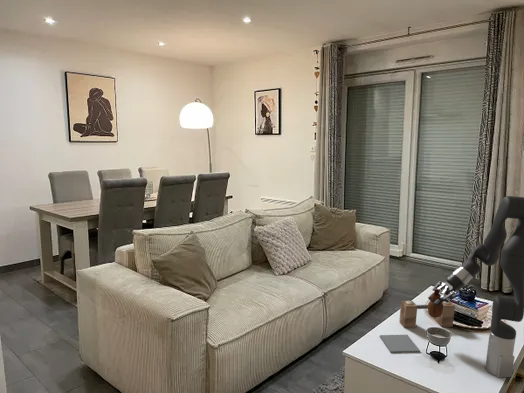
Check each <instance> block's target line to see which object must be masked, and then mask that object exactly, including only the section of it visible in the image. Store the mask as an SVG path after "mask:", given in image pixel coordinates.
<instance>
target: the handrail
mask: <svg viewBox="0 0 524 393" xmlns="http://www.w3.org/2000/svg"><path fill="white" fill-rule="evenodd" d="M442 304H443V312H442V314H441V316H440V317H435V322H436V324H438V325H439V326H440V327H441V328H453V327H454V326H453V325H454V316H455V311H456V310H455V308H456V305H455V304H454V303H453V302H451V301H449V302H447V303H446V302H442ZM425 309H427V310H428V304H416V303H415V302H414V301H413V300H401V301H400V309H399V321H398V322H399V324H400V325H401V326H402V327H403V328H404V329H408V328H409V329H411V328H412V329H413V328H416V326H417V324H416V323H417V317H418V316H417V315H418V310H425Z"/></svg>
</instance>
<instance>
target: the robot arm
mask: <svg viewBox="0 0 524 393" xmlns="http://www.w3.org/2000/svg"><path fill="white" fill-rule="evenodd" d="M507 219H513V220H516V219H517V224H516V228H515V230H514V231H513V233H512V235H511V236H510V237H509V238H508V239H507V237H508V236H507V234H508V232H507V229H506V227H505V222H506V220H507ZM506 240H507V241H506ZM505 241H506V242H505ZM500 251H501V252H500ZM499 258H500V259H499ZM477 259H478V261H481V263H483V264H484V265H486V266H488V267H489V266H493V265H495V264H496V263H497V262H498V260H500V261H499V263H500V267H501V270H502V272H503V273H504V275H505V277H506V278H507V280H508V281H509V283H510V285H511V287H512V290H513V297H507V296H501V295H500V296H499V295H496V296H494V298H493V300H492V308H491V320H490V328H489V334H488V335H489V336H488V344H487V350H486V358H485V359H486V360H485V369H486V371H487V372H488V373H490V375H493V376H495V377H497V378H512V377H513V370H514V364H515V356H514V350H515V343H516V337H517V330H516V329H515V328H514V327H513V326H511V324H510V325H509V324H508V323H505V322H504V321H510V322H515V323H519V322H520V323H521V322H522V320H523V319H524V197H523V196H513V195H511V196H510V195H506V196H504V197H503V198H502V199H501V201H500V202H499V205H498V207H497V211H496V213H495V216H494V219H493V223H492V225H491V227H490V230H489V231H488V233H487V235H486V236H485V238H484V241H483V243H479V244H477V245H476V246H475V247H474V249H473V251H472V253H471V254H470V256H469V257H468V258H467V259H466V260H465V262H463V263H462V264H461V265H460V266H459V267H457V268H455V269H454V271H452V272H451V273H450V274H449V275H448V276H447V277H445V281H444V282H442V281H441V280H438V282H437V283H436V284H435V285H434V286H433V288H432V289H431V290H432V293H431V294H430V295H428V297H427V298H428V300H429V302H430V301H432V300H431V295H432V294H433V293H434V289H435V288H437V289H438V290H439V294H440V295H441V297H440V298H439V299H437V300H436V301H435V302H434V304H435V305H436V306H439V305H440V304H441V303H442V302H446V303H447V302H449V301H450V302H451V301H452V300H454V299H455V298H457V297H458V294H457V293H456V291H460V290H461V289H463V287H465V286H466V285H467V284H469V282H470V281H471V280H472V279H473V278H474V277H475V276H476V275H477V274H478V273H479V272H480V271H481V266H480V265H479V264H478V262H477V261H476V260H477ZM502 320H504V321H502Z"/></svg>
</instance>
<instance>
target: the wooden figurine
mask: <svg viewBox="0 0 524 393" xmlns="http://www.w3.org/2000/svg"><path fill="white" fill-rule="evenodd" d="M432 293H433V292H432ZM432 293H431V294H432ZM431 294H430V295H431ZM441 295H442V294H439V290H438V289H437V288H435V289H434V293H433V294H432V295H431V300H432V301H430V300H429V302H428V304H427V305H428V309H427V312H428V315H429V316H430V317H432V318H436V317H440V316H441V314H442V312H443V304H442V303H441V304H440V305H439V306H436V305H435V304H434V302H435V301H436V300H437V299H439V298H440V297H441Z"/></svg>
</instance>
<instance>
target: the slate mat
mask: <svg viewBox="0 0 524 393" xmlns="http://www.w3.org/2000/svg"><path fill="white" fill-rule="evenodd" d="M379 338H380V339H381V341H382V342H383V344H384V346H385V347H386V348H387V350H388V351H389V353H390V354H401V353H405V354H406V353H421V350H420V348H419V347H418V346H417V345H416V343H415V342H414V341H413V340H412V339H411V337H410V336H409V335H408V334H379Z"/></svg>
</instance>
